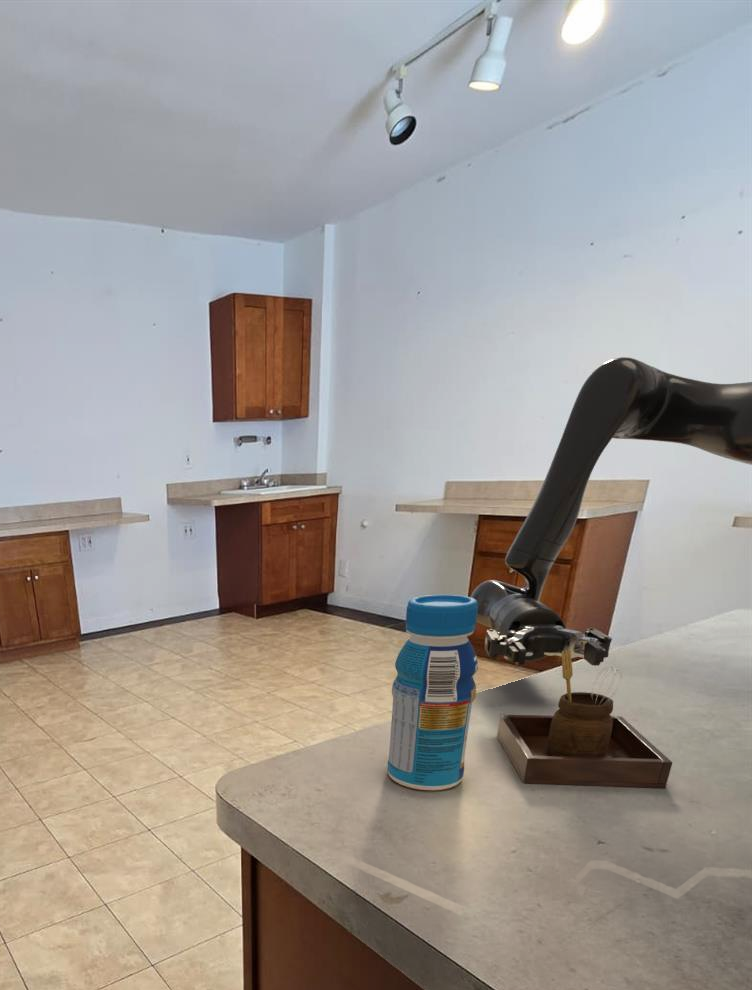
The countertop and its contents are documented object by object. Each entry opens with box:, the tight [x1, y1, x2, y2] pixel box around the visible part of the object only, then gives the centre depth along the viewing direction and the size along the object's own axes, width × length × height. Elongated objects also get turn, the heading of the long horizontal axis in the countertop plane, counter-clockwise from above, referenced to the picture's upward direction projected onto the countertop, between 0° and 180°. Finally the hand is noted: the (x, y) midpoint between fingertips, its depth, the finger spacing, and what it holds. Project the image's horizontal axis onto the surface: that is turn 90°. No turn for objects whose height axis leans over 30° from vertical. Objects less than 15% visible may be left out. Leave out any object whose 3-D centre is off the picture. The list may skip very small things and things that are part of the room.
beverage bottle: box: [386, 594, 479, 791], centre depth 69 cm, size 8×8×20 cm
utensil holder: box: [547, 648, 623, 758], centre depth 72 cm, size 6×6×12 cm
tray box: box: [496, 714, 673, 789], centre depth 74 cm, size 14×14×3 cm
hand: (560, 657), depth 79 cm, fingers open, 8 cm apart
